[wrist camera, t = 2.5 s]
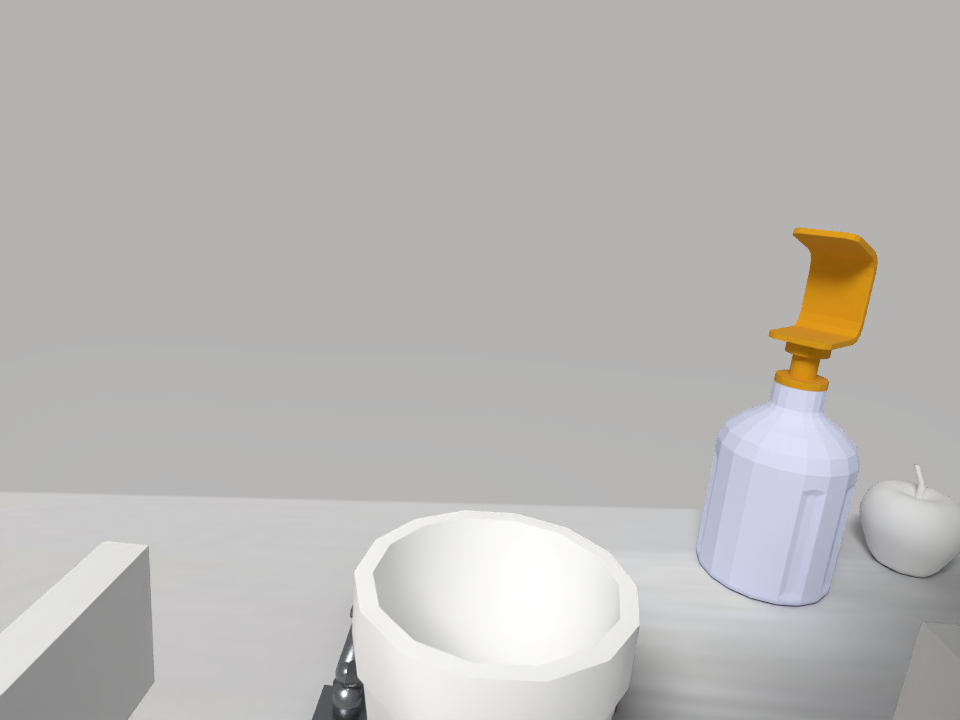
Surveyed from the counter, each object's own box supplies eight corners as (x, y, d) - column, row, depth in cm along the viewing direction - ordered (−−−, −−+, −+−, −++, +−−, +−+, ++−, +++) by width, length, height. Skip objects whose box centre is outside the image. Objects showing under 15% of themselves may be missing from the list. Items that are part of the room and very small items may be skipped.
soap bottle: (671, 560, 49) (732, 221, 42) (735, 527, 55) (796, 224, 48) (791, 626, 42) (884, 238, 36) (848, 581, 48) (937, 239, 42)
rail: (562, 606, 42) (568, 562, 42) (585, 765, 31) (594, 708, 30) (360, 587, 43) (362, 543, 42) (307, 739, 31) (308, 682, 30)
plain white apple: (878, 532, 56) (901, 444, 54) (972, 576, 50) (1003, 480, 48) (830, 550, 52) (853, 456, 50) (926, 600, 47) (957, 497, 44)
